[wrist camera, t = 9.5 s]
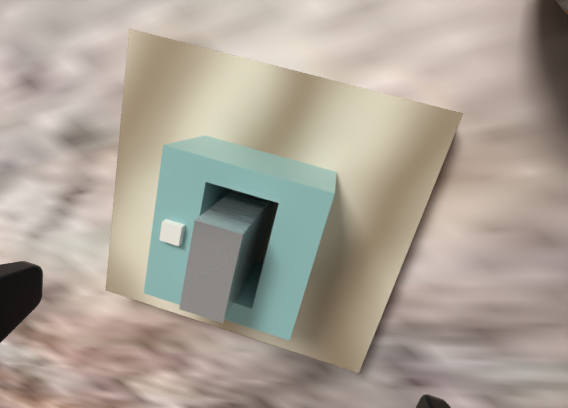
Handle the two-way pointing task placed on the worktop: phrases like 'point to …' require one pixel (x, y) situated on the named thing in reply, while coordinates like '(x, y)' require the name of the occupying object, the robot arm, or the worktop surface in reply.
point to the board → (293, 145)
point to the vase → (563, 5)
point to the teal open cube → (254, 181)
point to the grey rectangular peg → (224, 253)
